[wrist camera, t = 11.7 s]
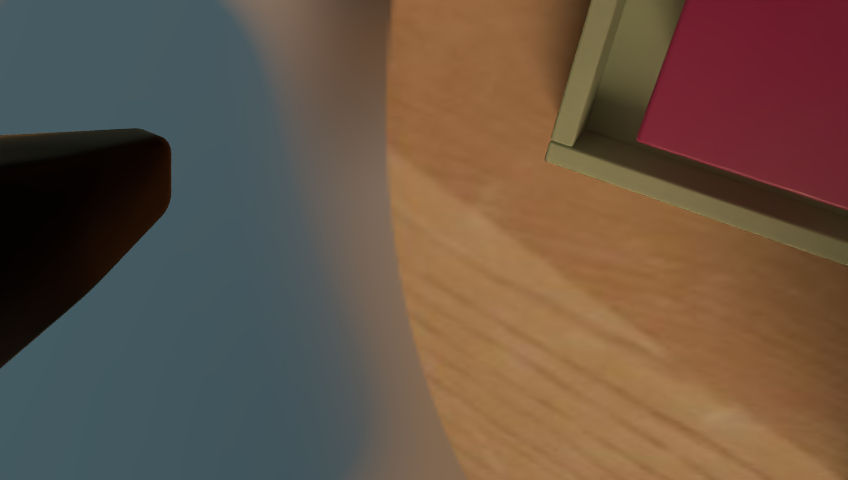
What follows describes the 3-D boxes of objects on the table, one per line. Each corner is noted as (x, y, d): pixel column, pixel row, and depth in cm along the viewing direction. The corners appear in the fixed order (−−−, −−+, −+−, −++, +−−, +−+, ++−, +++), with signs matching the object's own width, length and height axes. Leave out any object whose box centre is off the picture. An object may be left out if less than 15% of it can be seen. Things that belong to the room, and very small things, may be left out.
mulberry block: (883, 141, 18) (908, 232, 14) (669, 76, 19) (633, 142, 15) (1009, -89, 15) (1086, -61, 11) (751, -146, 16) (734, -140, 12)
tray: (914, 253, 19) (926, 294, 17) (563, 135, 21) (543, 161, 20) (1212, -219, 14) (1271, -227, 12) (697, -308, 16) (685, -324, 14)
